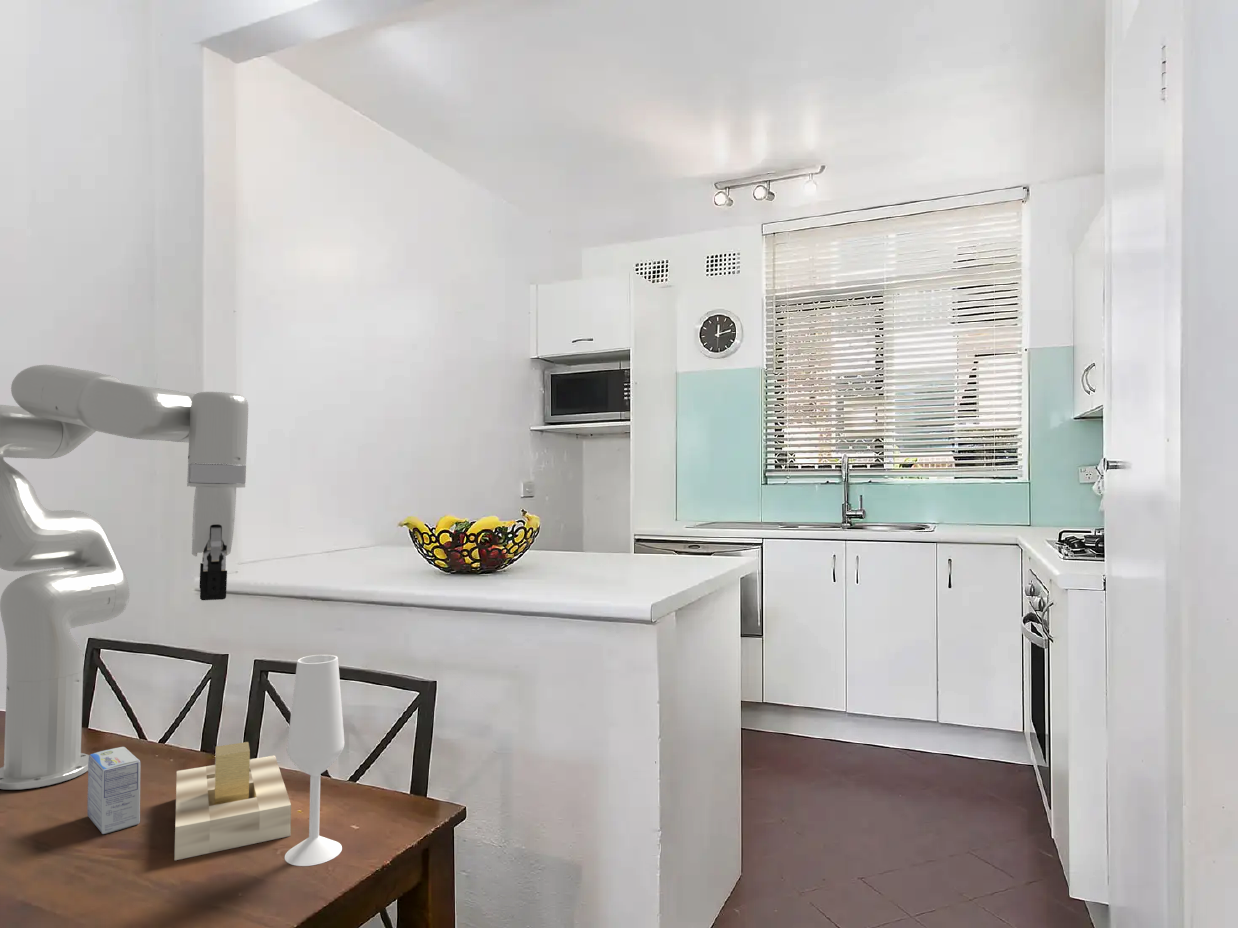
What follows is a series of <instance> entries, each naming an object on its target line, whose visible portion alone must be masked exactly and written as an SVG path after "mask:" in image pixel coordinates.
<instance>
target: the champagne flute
mask: <svg viewBox="0 0 1238 928" xmlns="http://www.w3.org/2000/svg"><path fill="white" fill-rule="evenodd" d="M339 667H340V666H339V657H338V656H337V655H334V654H313V655H307V656H303V657H301V658H299V659H297V662H296V669H295V678H294V686H293V694H292V703H291V710H290V712H291V713H290V719H289V728H288V736H287V745H286V753H287V756H288V759H290V761H291V762H292V764H294V766H295V767H297V768H298V769H299V770H301V771H302V772H303V773H304V774H307V775H309V776H310V778H309V779H310V780H309V783H310V784H309V818H308V819H309V820H308V821H309V823H308V827H309V828H308V837H307V838H306V839H304V840H302V841H301V842H299V843H298V844H296V845H294V846H293V847H292V848H290V849H288V851H287V852H286V853H285V854H284V861H285V862H286V863H287V864H290V865H292V866H295V867H296V866H297V867H309V866H316V865H321V864H324V863H326V862H329V861H331V860H333V859H335V858H336V857H338V856H339V855H340V854H341V852H342V850H343V847H342V844H341V843H340V842H339V841H336V840H334V839H330V838H328V837H324V836H323V835H320V812H321V811H320V810H321V774H323V773H324V772H326V770H328V769H329V768H330V767H331V765H332V764H334V763H335V762H336V761H337V759H338V758H339V757H340V755H341V754H342V752H343V750H344V748H345V733H344V732H345V731H344V718H343V707H342V706H343V705H342V694H341V693H342V692H341V681H340V678H341V677H340V669H339Z"/></svg>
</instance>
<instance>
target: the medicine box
mask: <svg viewBox="0 0 1238 928" xmlns="http://www.w3.org/2000/svg"><path fill="white" fill-rule="evenodd" d="M88 755H89V762H88V771H87V808H86V809H87V817H88V818H89V819H90V820H91V822H92V823H93V824H94V825H95V826H96V828H97V829H98V830H99V832H101V834H102V835H105V834H109V833H113V832H114V833H115V832H116V831H120V830H123V829H127V828H130V827H133V826H138V825H139V824H140V822H141V760H140V759H139V758H137V757H136V756H135V755H134V754H133V753H132V752H131V751H130V750H129V749H127V748H126V747H125V746H120V747H114V748H110V749H105V750H100V751H97V752H94V753H90V754H88Z"/></svg>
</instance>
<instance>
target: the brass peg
mask: <svg viewBox="0 0 1238 928" xmlns="http://www.w3.org/2000/svg"><path fill="white" fill-rule="evenodd" d="M214 759H215V760H214V765H215V794H214V805H217V804H223V803H228V802H234V801H239V800H245V799H249V767H250V759H251V750H250V743H249V741H245V742H239V743H230V744H225V745H217V746H215V758H214Z"/></svg>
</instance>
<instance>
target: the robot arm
mask: <svg viewBox="0 0 1238 928" xmlns="http://www.w3.org/2000/svg"><path fill="white" fill-rule="evenodd" d="M10 385H11V386H10V387H11V388H10V391H11V392H10V393H11V396H12V398H13V399H14V402H15V403H16V404H17V405H18V406H17V405H6V404H0V569H1V570H4V571H7V572H30V571H35V572H32V573H29V574H25V575H23V576H20V577H17V578H16V579H14V580H13V581H11V582H9V584H8V585H7V586H5V588H4V590H3V591H2V593H1V596H0V616H1V621H2V626H3V631H4V634H5V635H4V636H5V644H6V645H5V646H6V647H5V648H6V686H5V687H6V691H5V694H6V695H5V697H6V698H5V719H4V720H5V722H4V723H5V726H4V754H3V755H4V758H3V766H2V767H1V766H0V790H5V791H6V790H7V791H8V790H9V791H15V790H27V789H28V790H29V789H35V788H36V789H37V788H40V787H47V786H51V785H52V786H53V785H55V784H59V783H62V782H65V781H68V780H69V781H70V780H71V779H74V778H77V777H79V776H81V775H83V774H85V773H86V772H88V762H89V755H90V754H86V753H83V752H82V726H83V725H82V723H83V687H84V656H83V655H84V654H83V652H82V651H83V650H82V648H81V647H80V645H79V644H78V642H77V641H76V639H75V637H74V636H73V635H72V633H71V631H70V629H75V628H77V627H83V626H88V625H94V624H98V623H99V624H100V623H102V622H107V621H110V620H113V619H115V618H117V617H118V616H120V615H122V614H123V612H124V611H125V610H126V608H127V607H128V604H129V601H130V594H131V593H130V585H129V582H128V579H127V576H126V574H125V572H124V570H123V569H124V568H123V566H122V565H121V563H120V561H119V558H118V556H117V554H116V552H115V550H114V547H113V545H112V543H111V541H110V539H109V536H108V535H107V533H106V531H105V528H104V527H103V525H102V524H101V523H100V521H98V520H97V519H96V518H95V517H94V516H92V515H91V514H89V513H87V512H84V511H80V510H74V509H73V510H72V509H71V510H69V509H68V510H67V509H66V510H50V509H48V508H45V507H44V506H43V504H42V503H41V501H40V499H39V497H38V495H37V493H36V490H35V488H34V486H33V484H32V483H31V482H30V481H29V480H28V479H27V477H25V475H23V474H22V473H21V472H20V471H19V470H17V469H16V468H15V467H13V466H12V465H10V464H9V463H8V462H7V461H5V459H4V458H11V459H12V458H13V459H14V458H15V459H39V460H49V459H50V460H51V459H57V458H61V457H63V456H66V455H67V454H70V453H71V452H72V451H74V450H75V449H76V448H78V447H79V446H81V444H82V443H84V442H85V441H86V440H87V439H88V438H90V437H91V436H92V435H93V434H95V433H96V432H99V433H104V434H107V435H114V436H116V437H122V438H129V439H132V440H133V439H136V440H141V441H142V440H145V441H161V442H162V441H164V442H173V443H174V442H176V443H188V454H187V459H188V460H187V477H186V478H187V479H186V487H191V488H195V491H194V497H193V510H192V534H191V535H192V537H191V554H192V555H193V556H194V557H198V553H200V554H201V553H202V561H201V562H200V565H199V566H200V568H199V590H200V591H199V594H200V595H199V599H200V600H201V601H217V600H219V601H220V600H225V599H226V598H227V585H228V570H226V568H227V567H226V565H227V564H226V563H227V561H226V559H227V556H229V555H230V554H231V553H232V552H231V551H232V545H233V538H234V532H235V531H234V530H235V521H236V520H235V519H236V502H237V500H236V498H237V488H239V489H240V488H246V483H247V482H246V479H247V477H246V476H247V474H246V473H247V456H248V455H247V453H248V452H247V449H248V428H249V427H248V426H249V402H248V400H247V398H246V397H245V396H243V395H240V394H238V393H232V392H225V391H224V392H223V391H199V392H196V393H191V392H186V391H184V392H183V391H179V390H171V389H166V388H157V387H151V386H143V385H136V384H129V383H123V382H122V381H121V380H120V379H119V378H117V377H116V376H113V375H110V374H104V373H100V372H97V371H92V370H86V369H80V368H74V367H73V368H72V367H66V366H60V365H54V364H40V365H32V366H29V367H27V368H25V369H23V370H21V371H20V372H18V373H17V374H16V376H15V377H13V380H12V381H11V384H10ZM47 569H49V570H47ZM50 569H51V570H50ZM40 570H42V571H40Z"/></svg>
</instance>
